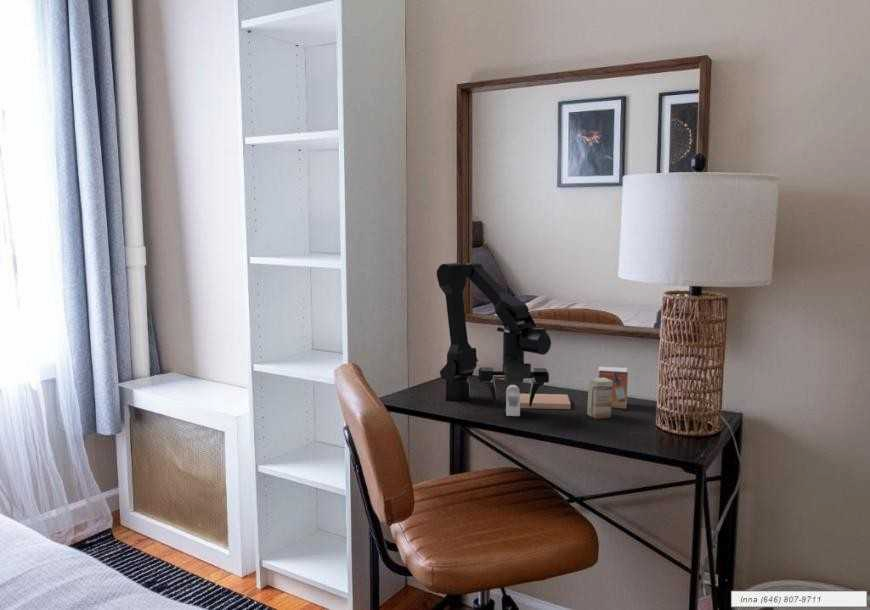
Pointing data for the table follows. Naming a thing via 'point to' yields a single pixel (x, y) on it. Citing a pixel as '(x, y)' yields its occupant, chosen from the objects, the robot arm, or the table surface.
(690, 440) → the table surface
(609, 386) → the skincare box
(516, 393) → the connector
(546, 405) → the terracotta tile
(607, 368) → the small box
